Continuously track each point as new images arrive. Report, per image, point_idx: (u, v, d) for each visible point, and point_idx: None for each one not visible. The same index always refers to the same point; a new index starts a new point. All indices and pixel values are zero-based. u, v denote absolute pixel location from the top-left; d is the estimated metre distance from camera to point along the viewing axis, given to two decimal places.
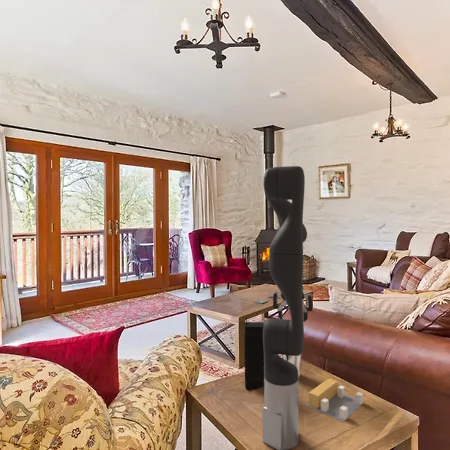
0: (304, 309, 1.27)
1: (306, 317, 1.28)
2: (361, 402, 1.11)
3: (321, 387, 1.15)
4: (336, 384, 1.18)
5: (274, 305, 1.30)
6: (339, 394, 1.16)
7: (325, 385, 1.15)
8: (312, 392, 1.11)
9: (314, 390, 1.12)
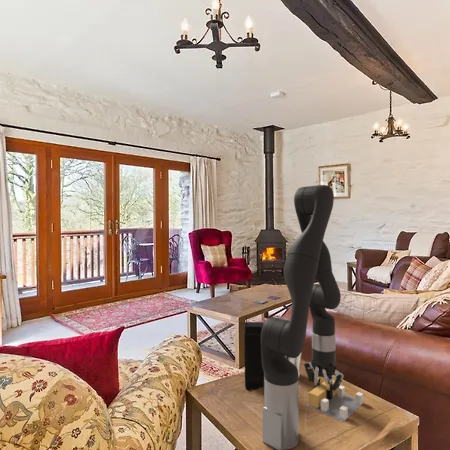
0: (327, 386, 1.12)
1: (329, 396, 1.13)
2: (361, 402, 1.11)
3: (321, 386, 1.15)
4: None
5: (310, 378, 1.17)
6: (339, 394, 1.16)
7: (325, 385, 1.15)
8: (312, 392, 1.11)
9: (314, 390, 1.12)
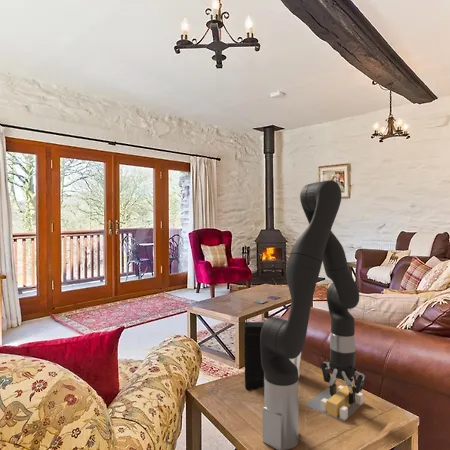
0: (349, 389, 1.07)
1: (352, 399, 1.07)
2: (361, 402, 1.11)
3: (339, 394, 1.10)
4: None
5: (325, 378, 1.13)
6: None
7: (343, 393, 1.10)
8: (330, 400, 1.06)
9: (332, 398, 1.08)
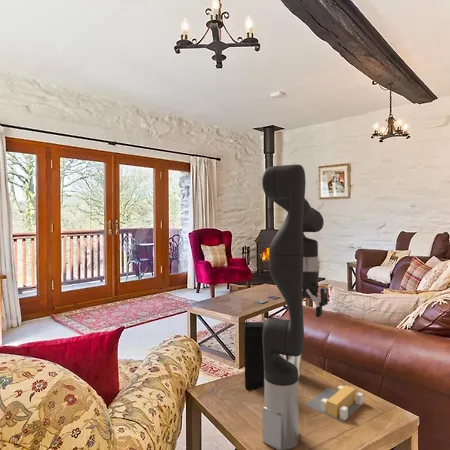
0: (316, 303, 1.20)
1: (319, 312, 1.20)
2: (361, 402, 1.11)
3: (339, 394, 1.10)
4: (354, 391, 1.13)
5: None
6: None
7: (343, 393, 1.10)
8: (330, 400, 1.06)
9: (332, 398, 1.08)
